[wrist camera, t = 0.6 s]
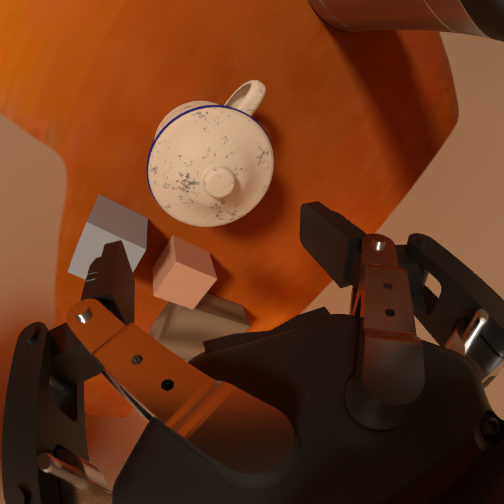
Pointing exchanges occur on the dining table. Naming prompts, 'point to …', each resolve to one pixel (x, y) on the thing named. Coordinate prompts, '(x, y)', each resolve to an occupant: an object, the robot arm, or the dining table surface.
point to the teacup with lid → (211, 159)
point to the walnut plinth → (197, 325)
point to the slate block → (109, 235)
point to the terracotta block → (183, 273)
